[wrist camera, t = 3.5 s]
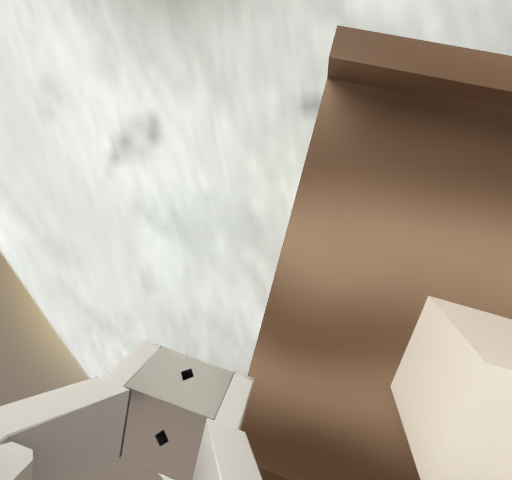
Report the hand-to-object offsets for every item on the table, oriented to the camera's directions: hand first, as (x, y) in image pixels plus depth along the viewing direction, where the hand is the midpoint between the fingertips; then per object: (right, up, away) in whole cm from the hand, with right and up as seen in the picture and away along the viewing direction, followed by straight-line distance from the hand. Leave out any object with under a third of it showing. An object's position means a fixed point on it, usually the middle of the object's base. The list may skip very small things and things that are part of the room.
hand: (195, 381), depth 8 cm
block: (+9, -1, +3) cm, 10 cm away
